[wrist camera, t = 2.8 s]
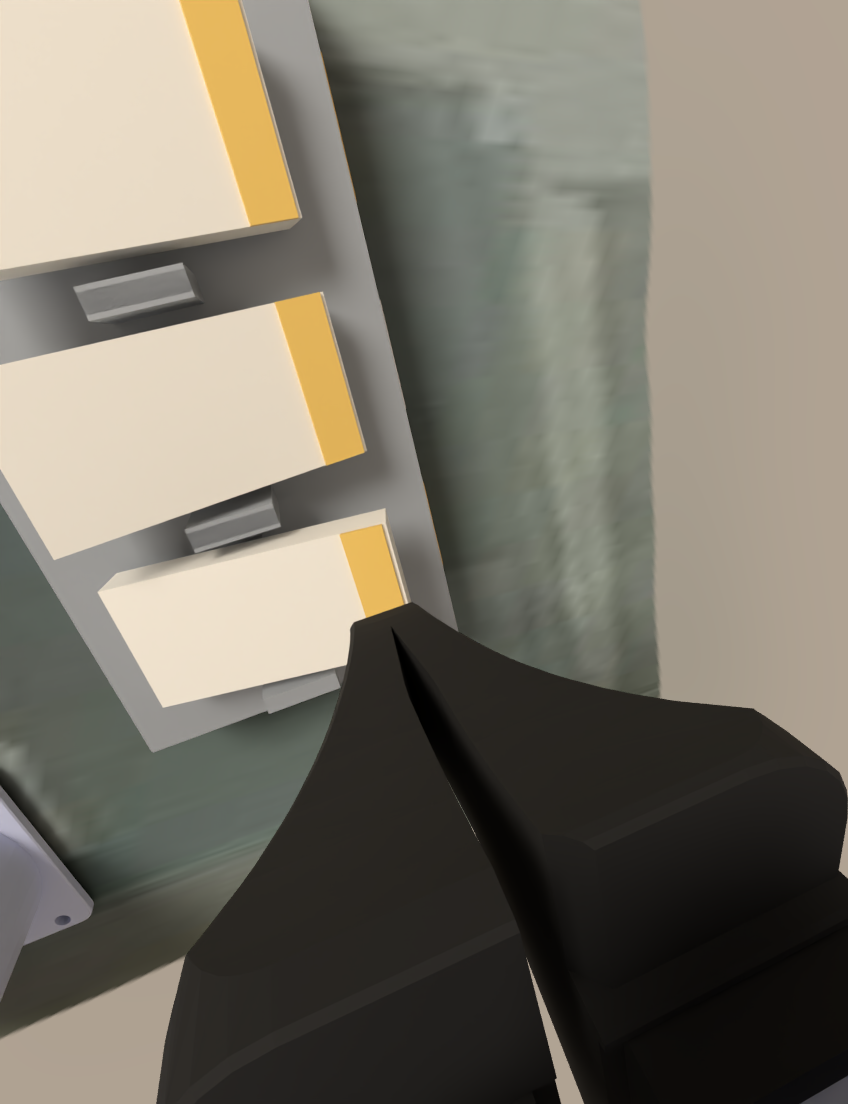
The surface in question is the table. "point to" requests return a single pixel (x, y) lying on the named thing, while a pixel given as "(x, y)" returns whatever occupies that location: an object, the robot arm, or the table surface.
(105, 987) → the table surface
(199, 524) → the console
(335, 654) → the block
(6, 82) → the rocker
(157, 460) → the rocker
